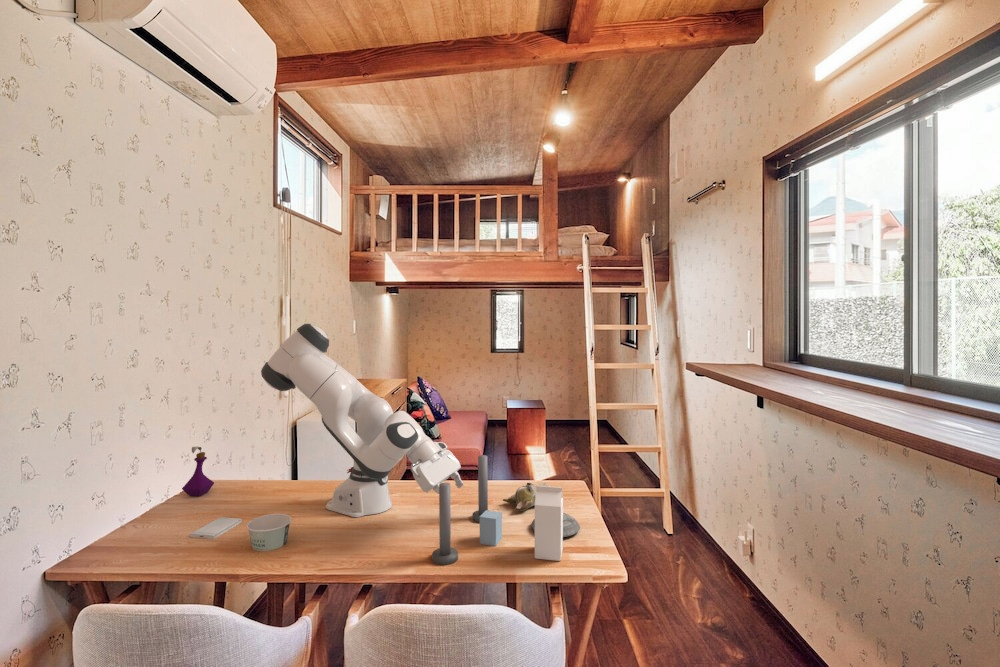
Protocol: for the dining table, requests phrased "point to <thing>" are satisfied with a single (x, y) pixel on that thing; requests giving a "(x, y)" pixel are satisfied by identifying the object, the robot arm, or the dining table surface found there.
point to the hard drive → (216, 528)
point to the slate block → (490, 528)
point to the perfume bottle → (198, 478)
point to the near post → (444, 529)
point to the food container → (269, 531)
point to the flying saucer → (566, 525)
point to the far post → (482, 487)
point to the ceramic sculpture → (524, 497)
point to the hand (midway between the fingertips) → (455, 491)
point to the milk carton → (548, 523)
